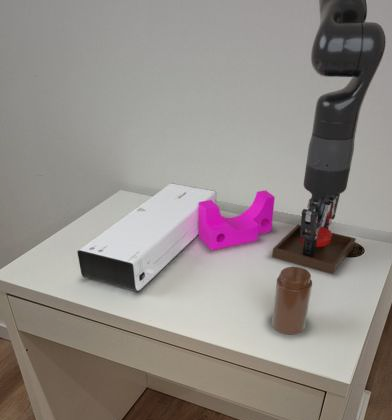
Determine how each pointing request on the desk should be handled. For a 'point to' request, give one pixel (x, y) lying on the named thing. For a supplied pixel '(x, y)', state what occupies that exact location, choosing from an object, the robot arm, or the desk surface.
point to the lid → (322, 237)
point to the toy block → (235, 222)
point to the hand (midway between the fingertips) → (314, 249)
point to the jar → (291, 300)
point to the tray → (324, 256)
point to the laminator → (145, 238)
